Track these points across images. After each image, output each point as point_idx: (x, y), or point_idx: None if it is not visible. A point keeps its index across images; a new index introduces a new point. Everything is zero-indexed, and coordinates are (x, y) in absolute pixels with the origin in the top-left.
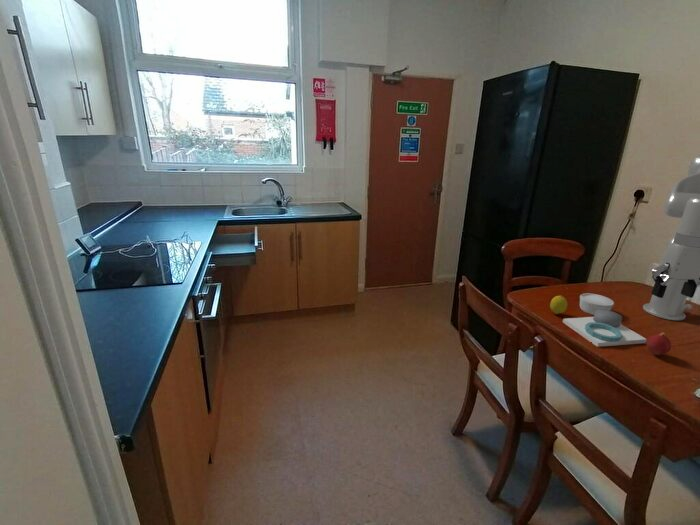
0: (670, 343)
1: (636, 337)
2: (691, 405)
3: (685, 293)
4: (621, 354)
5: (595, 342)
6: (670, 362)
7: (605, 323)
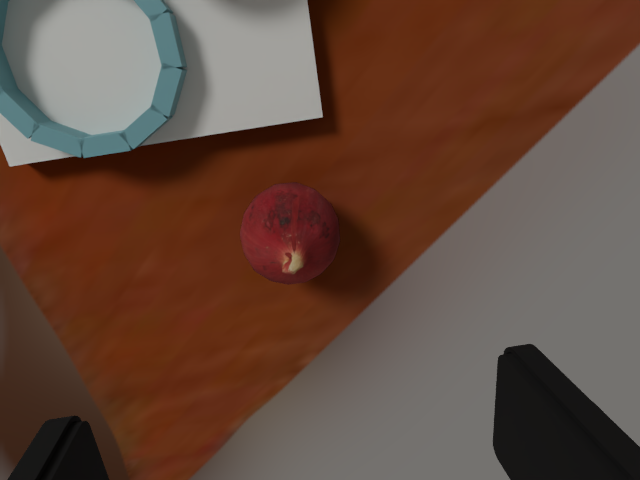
0: (319, 274)
1: (276, 98)
2: (187, 473)
3: (509, 415)
4: (121, 223)
5: (7, 146)
6: None
7: None
